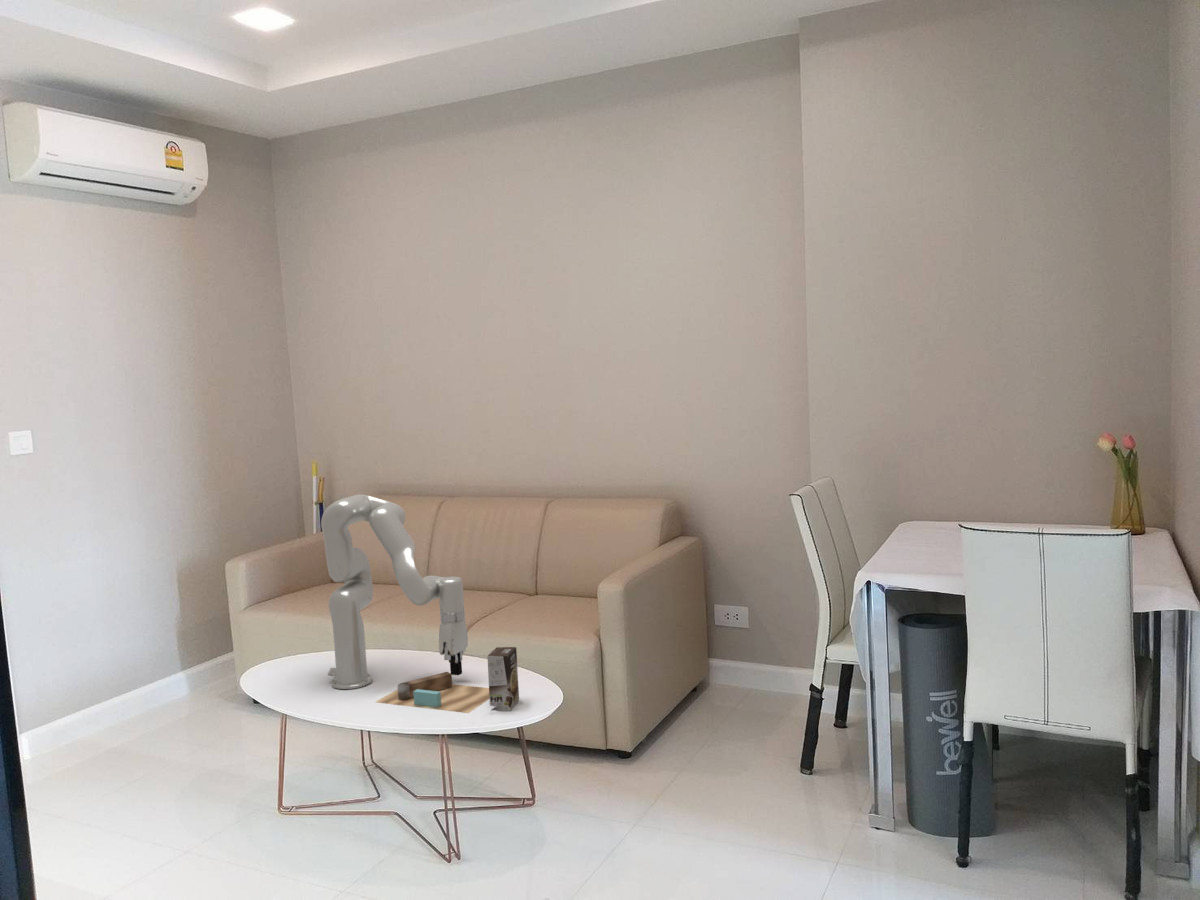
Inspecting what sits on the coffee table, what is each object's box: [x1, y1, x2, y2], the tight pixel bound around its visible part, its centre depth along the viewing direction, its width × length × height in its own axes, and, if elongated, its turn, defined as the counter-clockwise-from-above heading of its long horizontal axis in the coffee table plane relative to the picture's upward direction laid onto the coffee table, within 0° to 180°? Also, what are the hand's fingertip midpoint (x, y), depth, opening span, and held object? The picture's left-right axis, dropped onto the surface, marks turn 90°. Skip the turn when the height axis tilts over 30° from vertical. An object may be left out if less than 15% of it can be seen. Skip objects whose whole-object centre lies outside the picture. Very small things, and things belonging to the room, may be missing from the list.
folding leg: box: [397, 671, 453, 700], centre depth 271 cm, size 17×4×4 cm, turn 127°
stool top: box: [375, 683, 490, 714], centre depth 268 cm, size 32×20×2 cm, turn 67°
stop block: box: [413, 689, 441, 708], centre depth 260 cm, size 8×2×4 cm, turn 67°
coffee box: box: [487, 646, 520, 712], centre depth 261 cm, size 9×6×16 cm
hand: (456, 674), depth 282 cm, fingers closed
